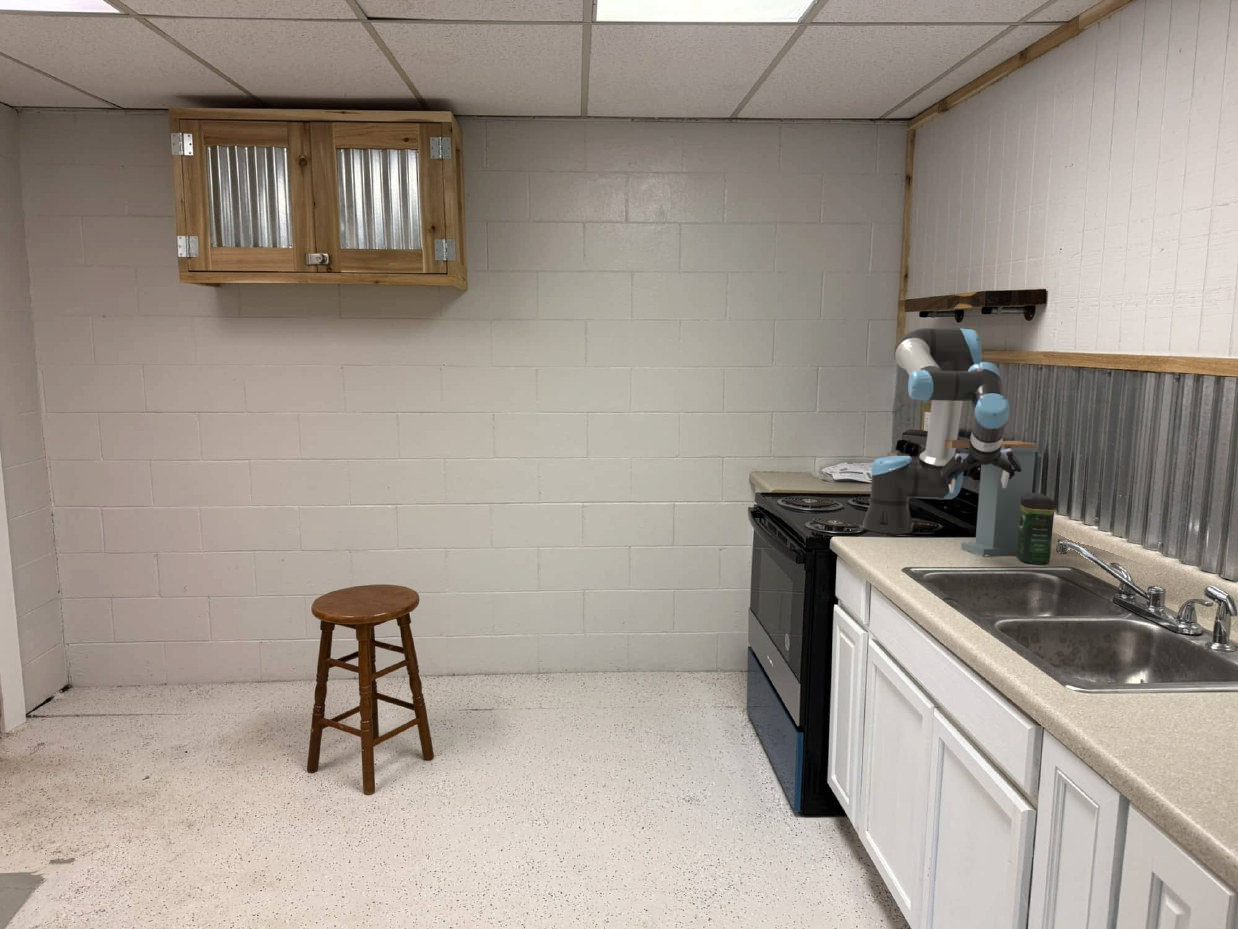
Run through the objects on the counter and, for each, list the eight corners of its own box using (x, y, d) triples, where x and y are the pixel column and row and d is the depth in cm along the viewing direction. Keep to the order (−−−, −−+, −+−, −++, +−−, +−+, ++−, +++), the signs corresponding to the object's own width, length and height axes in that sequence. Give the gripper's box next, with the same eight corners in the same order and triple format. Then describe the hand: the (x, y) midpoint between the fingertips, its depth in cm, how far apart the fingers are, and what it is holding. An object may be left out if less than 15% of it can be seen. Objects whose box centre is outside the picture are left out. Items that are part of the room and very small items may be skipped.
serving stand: (961, 549, 245) (968, 445, 241) (1006, 546, 250) (1014, 444, 246) (983, 556, 237) (991, 448, 233) (1029, 553, 241) (1038, 448, 238)
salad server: (939, 446, 238) (939, 438, 237) (1016, 445, 246) (1017, 438, 245) (957, 449, 230) (958, 441, 230) (1036, 447, 238) (1037, 440, 238)
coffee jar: (1053, 566, 227) (1059, 497, 225) (1021, 564, 229) (1026, 495, 226) (1043, 558, 236) (1049, 491, 234) (1013, 556, 238) (1018, 490, 236)
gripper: (937, 458, 218) (931, 502, 234) (1042, 448, 212) (1029, 493, 229) (932, 434, 222) (927, 479, 239) (1035, 424, 217) (1022, 470, 234)
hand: (977, 486), depth 234 cm, fingers open, 13 cm apart
